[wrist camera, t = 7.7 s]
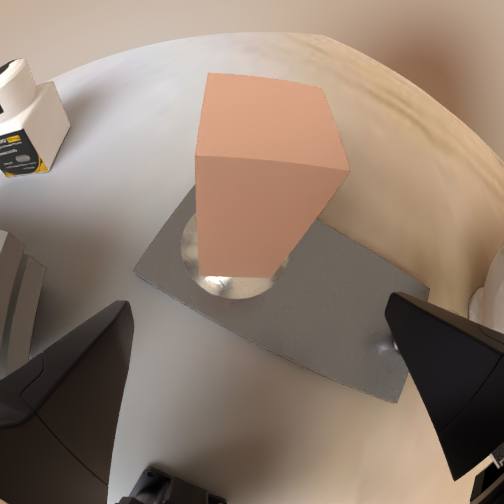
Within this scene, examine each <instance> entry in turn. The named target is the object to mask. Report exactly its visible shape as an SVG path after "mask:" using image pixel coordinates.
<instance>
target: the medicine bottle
mask: <svg viewBox="0 0 504 504" xmlns="http://www.w3.org/2000/svg"><path fill="white" fill-rule="evenodd" d="M69 128H70V122H69V120H68V118H67V115H66V113H65V110H64V108H63V105H62V103H61V100H60V97H59V95H58V92H57V89H56V86H55V84H54V82H53V81H51V82H47V83H44V84H40V85H37V86H36V84H35V81H34V79H33V76H32V73H31V70H30V68H29V65H28V62H27V60H26V59H22V58H20V59H16V60H13V61H10V62H8V63H7V64H5V65H4V66H2V67H0V169H1V171H2V172H3V173H4V174H5V176H6V177H8V178H9V177H15V176H22V175H29V174H37V173H45V172H48V171H49V170H50V168H51V165H52V163H53V161H54V159H55V156H56V154H57V152H58V150H59V148H60V146H61V144H62V142H63V140H64V138H65V136H66V134H67V132H68V130H69Z"/></svg>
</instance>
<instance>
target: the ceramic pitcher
mask: <svg viewBox="0 0 504 504" xmlns="http://www.w3.org/2000/svg"><path fill="white" fill-rule="evenodd" d="M468 319H469V320H471V321H474V322H475V323H478V324H481V325H483V326H485V327H488V328H490V329H493V330H495V331H498V332H500V333H503V334H504V243H503V244H502V246H501V247H500V249H499V250H498V252H497V253H496V255H495V257H494V259H493V261H492V263H491V265H490V268H489V270H488V274H487V278H486V281H485V285H484V287H480V288H479V289H478V290H476V292H475V293H474V294H473V295H472V297H471V298H470V299H469V318H468Z"/></svg>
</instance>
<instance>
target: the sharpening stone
mask: <svg viewBox="0 0 504 504" xmlns="http://www.w3.org/2000/svg"><path fill="white" fill-rule="evenodd" d="M24 247H25V245H24V244H22V243H21V242H20V241H19V240H17V239H16V238H15V237H14V236H13V235H11V234H10V233H9V232H7V231H3V230H0V380H1V379H3V378H4V377H6V376H7V375H9V374H11V373H12V372H14V371H15V370H17V369H18V368H20V367H22V366H23V365H24V364H26V363H27V362H28V359H29V351H30V344H31V337H32V331H33V325H34V320H35V315H36V310H37V305H38V301H39V296H40V292H41V288H42V284H43V281H44V277H45V273H46V270H47V268H46V267H44V266H43V265H42V264H40V263H39V262H37V261H36V260H35V259H33V258H32V257H30V256H29V255H26V254H22V253H23V250H24Z"/></svg>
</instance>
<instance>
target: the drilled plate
mask: <svg viewBox="0 0 504 504" xmlns="http://www.w3.org/2000/svg"><path fill="white" fill-rule="evenodd" d="M133 272H134V273H135V274H136V275H138V276H139V277H141V278H142V279H144V280H146V281H147V282H149V283H150V284H152V285H153V286H155V287H157V288H158V289H160V290H161V291H163V292H165V293H166V294H168V295H169V296H171V297H173V298H174V299H176V300H178V301H179V302H181V303H183V304H184V305H186V306H188V307H190V308H191V309H193V310H195V311H196V312H198V313H200V314H202V315H203V316H205V317H207V318H209V319H210V320H212V321H214V322H216V323H218V324H219V325H221V326H223V327H225V328H227V329H229V330H230V331H232V332H234V333H236V334H238V335H240V336H242V337H244V338H246V339H247V340H249V341H251V342H253V343H255V344H257V345H259V346H261V347H263V348H265V349H267V350H269V351H271V352H273V353H275V354H277V355H279V356H281V357H284V358H286V359H288V360H290V361H292V362H294V363H296V364H298V365H301V366H303V367H305V368H307V369H309V370H312V371H314V372H316V373H318V374H321V375H323V376H325V377H327V378H330V379H332V380H334V381H337V382H339V383H342V384H344V385H346V386H349V387H351V388H354V389H356V390H359V391H361V392H364V393H367V394H369V395H372V396H374V397H377V398H380V399H382V400H385V401H388V402H391V403H397V402H398V399H399V397H400V394H401V391H402V389H403V386H404V383H405V380H406V378H407V375H408V372H409V370H408V368H407V366H406V364H405V362H404V360H403V358H402V356H401V354H400V352H399V350H398V348H397V345H396V343H395V341H394V338H393V336H392V333H391V331H390V328H389V326H388V323H387V321H386V319H385V315H384V312H385V308H386V305H387V302H388V299H389V296H390V294H391V293H393V292H399V291H400V292H404V293H406V294H409V295H411V296H414V297H416V298H418V299H421V300H423V301H426V302H427V301H428V296H429V290H430V288H428V287H427V286H425V285H424V284H422V283H421V282H419V281H418V280H416V279H415V278H413V277H412V276H410V275H408V274H407V273H405V272H404V271H402V270H401V269H399V268H398V267H396V266H394V265H393V264H391V263H390V262H388V261H386V260H385V259H383V258H382V257H380V256H378V255H377V254H375V253H373V252H372V251H370V250H368V249H367V248H365V247H363V246H362V245H360V244H358V243H357V242H355V241H353V240H352V239H350V238H348V237H347V236H345V235H343V234H341V233H340V232H338V231H336V230H334V229H333V228H331V227H329V226H327V225H326V224H324V223H322V222H320V221H318V220H317V219H315V220H314V222H313V223H312V225H311V226H310V227H309V229H308V230H307V231H306V233H305V234H304V235H303V237H302V238H301V239H300V241H299V242H298V243H297V245H296V246H295V247H294V249H293V250H292V251H291V252H290V254H289V255H288V256H287V258H286V259H285V260H284V262H283V263H282V264H281V266H280V267H279V268H278V270H277V271H276V272H275V273H274V275H273V276H272V277H271V278H246V277H203V276H199V261H198V242H197V219H196V184H195V185H194V187H193V188H192V189H191V190H190V192H189V193H188V194H187V196H186V197H185V198H184V199H183V201H182V202H181V203H180V205H179V206H178V207H177V209H176V210H175V211H174V213H173V214H172V215H171V217H170V218H169V219H168V221H167V222H166V224H165V225H164V226H163V228H162V229H161V230H160V232H159V233H158V235H157V236H156V237H155V239H154V240H153V242H152V243H151V245H150V246H149V247H148V249H147V250H146V252H145V253H144V255H143V256H142V258H141V259H140V261H139V262H138V264H137V265H136V267H135V268H134V270H133Z"/></svg>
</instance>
